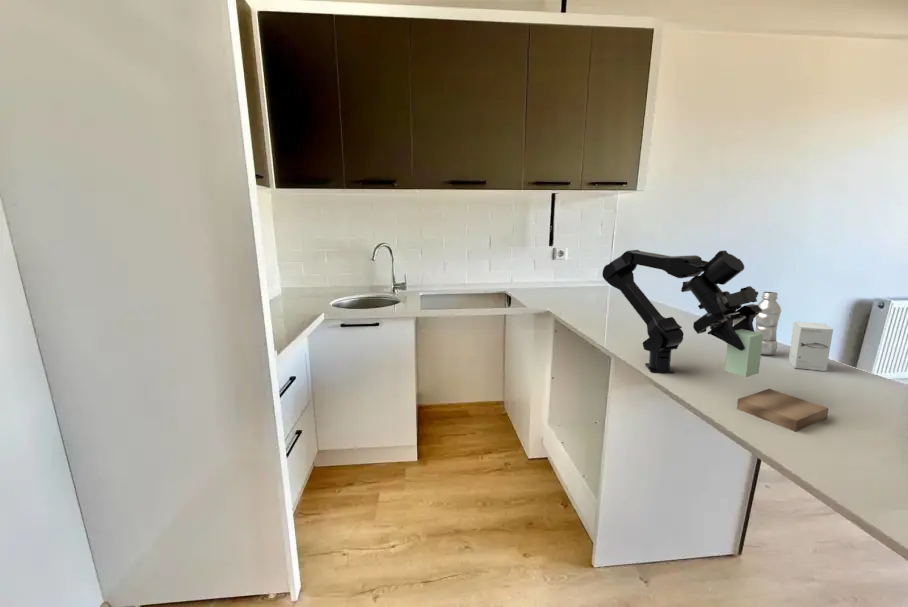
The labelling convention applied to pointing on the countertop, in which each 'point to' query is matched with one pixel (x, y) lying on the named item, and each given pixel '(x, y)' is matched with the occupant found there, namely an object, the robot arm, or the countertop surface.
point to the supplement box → (810, 345)
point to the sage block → (745, 354)
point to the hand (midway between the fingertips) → (750, 347)
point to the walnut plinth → (783, 409)
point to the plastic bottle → (768, 322)
